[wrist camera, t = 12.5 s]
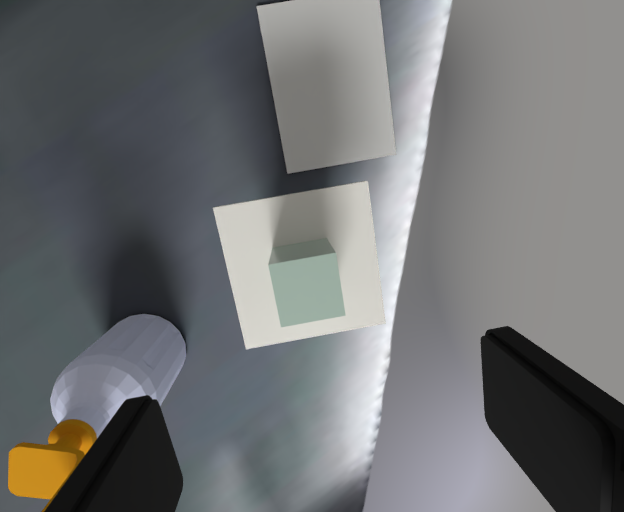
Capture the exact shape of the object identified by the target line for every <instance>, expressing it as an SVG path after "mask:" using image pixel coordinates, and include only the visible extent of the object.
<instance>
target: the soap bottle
mask: <svg viewBox="0 0 624 512" xmlns="http://www.w3.org/2000/svg"><path fill="white" fill-rule="evenodd" d="M185 358H186V344H185V341H184V339H183V337H182V335H181V333H180V331H179V330H178V329H177V328H176V327H175V326H174V325H173V324H172V323H171V322H169V321H167V320H165V319H163V318H162V317H160V316H156V315H149V314H139V315H133V316H129V317H127V318H125V319H123V320H121V321H120V322H118V323H117V324H116V325H114V326H113V327H112V328H111V329H110V330H108V331H107V332H106V333H105V334H104V335H103V336H101V337H100V338H99V339H98V340H97V341H96V342H94V343H93V344H92V345H91V346H90V347H88V348H87V349H86V350H85V351H84V352H83V353H81V354H80V355H79V356H78V357H77V358H76V359H74V360H73V361H72V362H71V363H70V364H68V365H67V367H66V368H65V369H64V370H63V371H62V373H61V374H60V375H59V376H58V377H57V380H56V382H55V385H54V388H53V392H52V395H51V399H50V402H51V408H52V414H53V416H54V418H55V419H56V421H57V423H58V425H57V426H56V427H55V428H54V429H53V430H52V431H51V432H50V435H49V438H48V442H49V444H48V445H41V444H33V443H24V442H23V443H20V444H17V445H16V446H15V447H14V448H13V449H12V450H11V451H10V452H9V474H8V488H9V490H10V491H11V493H13V494H15V495H17V496H23V497H33V498H43V499H51V500H50V501H49V502H48V504H47V505H46V506H45V508H44V509H43V510H42V512H44V511H45V510H46V508H47V507H48V506H49V504H50V503H51V502H52V500H53V499H54V497H55V496H56V495H57V493H58V492H59V490H60V489H61V488H62V486H63V485H64V484H65V482H66V481H67V479H68V478H69V477H70V475H71V474H72V473H73V471H74V470H75V468H76V467H77V466H78V464H79V463H80V461H81V460H82V459H83V457H84V456H85V455H86V453H87V452H88V450H89V449H90V448H91V446H92V445H93V444H94V442H95V441H96V439H97V438H98V437H99V435H100V434H101V433H102V431H103V430H104V428H105V427H106V426H107V424H108V423H109V421H110V420H111V419H112V417H113V416H114V415H115V413H116V412H117V410H118V409H119V408H120V406H121V405H122V404H123V402H124V401H125V400H126V399H130V398H135V397H140V396H145V395H149V396H150V397H151V398H152V400H153V399H156V400H157V401H158V402H159V405H160V406H161V404H162V402H163V400H164V399H165V397H166V395H167V393H168V392H169V390H170V388H171V386H172V384H173V383H174V381H175V379H176V377H177V376H178V374H179V372H180V370H181V368H182V366H183V363H184V361H185Z"/></svg>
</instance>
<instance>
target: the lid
mask: <svg viewBox="0 0 624 512" xmlns="http://www.w3.org/2000/svg"><path fill="white" fill-rule="evenodd" d="M213 210H214V214H215V218H216V223H217V227H218V231H219V235H220V240H221V244H222V248H223V253H224V257H225V261H226V265H227V270H228V274H229V278H230V282H231V287H232V291H233V295H234V299H235V304H236V308H237V312H238V317H239V321H240V325H241V329H242V334H243V338H244V342H245V346H246V349H250V348H256V347H261V346H267V345H272V344H277V343H283V342H288V341H294V340H299V339H304V338H310V337H315V336H321V335H326V334H331V333H337V332H342V331H347V330H353V329H358V328H364V327H369V326H374V325H380V324H385V323H386V322H385V314H384V306H383V298H382V290H381V282H380V274H379V266H378V258H377V250H376V242H375V235H374V227H373V219H372V211H371V203H370V195H369V187H368V181H361V182H355V183H350V184H344V185H338V186H332V187H327V188H321V189H315V190H309V191H304V192H298V193H292V194H286V195H280V196H275V197H269V198H263V199H257V200H252V201H246V202H240V203H234V204H229V205H223V206H217V207H214V208H213Z"/></svg>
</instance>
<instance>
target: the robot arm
mask: <svg viewBox="0 0 624 512" xmlns="http://www.w3.org/2000/svg"><path fill="white" fill-rule="evenodd" d="M481 357H482V374H483V392H484V410H485V418H486V422H487V424H488V426H489V428H490V429H491V431H492V432H493V433H494V434H495V436H496V437H497V438H498V439H499V441H500V442H501V443H502V445H503V446H504V447H505V448H506V450H507V451H508V452H509V453H510V455H511V456H512V457H513V458H514V460H515V461H516V462H517V463H518V465H519V466H520V467H521V468H522V470H523V471H524V472H525V474H526V475H527V476H528V477H529V479H530V480H531V481H532V482H533V484H534V485H535V486H536V487H537V489H538V490H539V491H540V492H541V494H542V495H543V496H544V497H545V499H546V500H547V501H548V502H549V504H550V505H551V506H552V507H553V509H554V510H555V511H556V512H624V405H623V404H622V403H620V402H619V401H617V400H616V399H614V398H613V397H612V396H610V395H609V394H607V393H606V392H604V391H603V390H601V389H600V388H598V387H597V386H596V385H594V384H593V383H591V382H590V381H588V380H587V379H585V378H584V377H582V376H581V375H579V374H578V373H577V372H575V371H574V370H572V369H571V368H569V367H568V366H566V365H565V364H563V363H562V362H561V361H559V360H557V359H556V358H554V357H553V356H552V355H550V354H549V353H547V352H546V351H544V350H543V349H542V348H540V347H538V346H537V345H535V344H534V343H533V342H531V341H530V340H528V339H527V338H525V337H524V336H523V335H521V334H520V333H518V332H517V331H515V330H514V329H512V328H511V327H508V326H506V327H500V328H495V329H490V330H487V331H486V334H485V336H482V337H481ZM182 488H183V476H182V473H181V470H180V466H179V463H178V460H177V457H176V454H175V451H174V448H173V445H172V442H171V439H170V436H169V433H168V429H167V426H166V423H165V420H164V417H163V414H162V411H161V408H160V405H159V402H158V401H157V400H156V399H153V400H152V398H151V397H150V396H149V395H145V396H140V397H135V398H130V399H126V400H125V401H124V402H123V404H122V405H121V406H120V408H119V409H118V410H117V412H116V413H115V415H114V416H113V417H112V419H111V420H110V421H109V423H108V424H107V426H106V427H105V428H104V430H103V431H102V433H101V434H100V435H99V437H98V438H97V439H96V441H95V442H94V444H93V445H92V446H91V448H90V449H89V450H88V452H87V453H86V455H85V456H84V457H83V459H82V460H81V461H80V463H79V464H78V466H77V467H76V468H75V470H74V471H73V473H72V474H71V475H70V477H69V478H68V479H67V481H66V482H65V484H64V485H63V486H62V488H61V489H60V490H59V492H58V493H57V495H56V496H55V497H54V499H53V500H52V502H51V503H50V504H49V506H48V507H47V508H46V510H45V511H44V512H175V510H176V507H177V504H178V501H179V498H180V495H181V492H182Z"/></svg>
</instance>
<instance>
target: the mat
mask: <svg viewBox="0 0 624 512" xmlns="http://www.w3.org/2000/svg"><path fill="white" fill-rule="evenodd" d="M257 11H258V17H259V22H260V27H261V33H262V38H263V44H264V49H265V55H266V60H267V66H268V71H269V76H270V82H271V87H272V93H273V98H274V104H275V109H276V114H277V120H278V125H279V131H280V136H281V142H282V147H283V153H284V158H285V163H286V169H287V174H289V173H295V172H301V171H306V170H312V169H318V168H323V167H329V166H335V165H340V164H346V163H352V162H357V161H363V160H369V159H374V158H380V157H386V156H391V155H396V148H395V139H394V129H393V120H392V111H391V102H390V93H389V84H388V74H387V65H386V56H385V47H384V38H383V29H382V20H381V10H380V1H379V0H292V1H286V2H280V3H273V4H267V5H261V6H257Z"/></svg>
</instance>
